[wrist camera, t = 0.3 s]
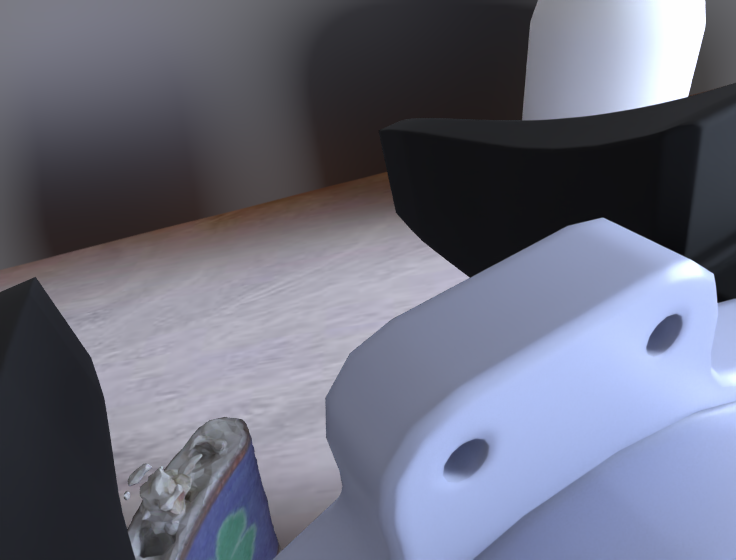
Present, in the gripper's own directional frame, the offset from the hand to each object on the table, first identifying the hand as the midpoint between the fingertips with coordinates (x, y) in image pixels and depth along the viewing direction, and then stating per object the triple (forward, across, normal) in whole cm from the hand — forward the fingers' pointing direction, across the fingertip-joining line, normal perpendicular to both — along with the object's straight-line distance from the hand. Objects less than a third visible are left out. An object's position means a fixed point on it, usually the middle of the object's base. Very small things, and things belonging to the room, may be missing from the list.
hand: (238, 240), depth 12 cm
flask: (+5, +6, +20) cm, 22 cm away
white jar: (+25, -34, +24) cm, 49 cm away
